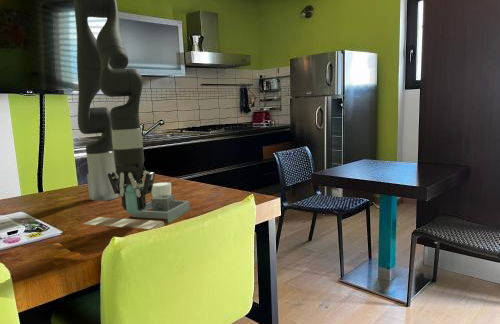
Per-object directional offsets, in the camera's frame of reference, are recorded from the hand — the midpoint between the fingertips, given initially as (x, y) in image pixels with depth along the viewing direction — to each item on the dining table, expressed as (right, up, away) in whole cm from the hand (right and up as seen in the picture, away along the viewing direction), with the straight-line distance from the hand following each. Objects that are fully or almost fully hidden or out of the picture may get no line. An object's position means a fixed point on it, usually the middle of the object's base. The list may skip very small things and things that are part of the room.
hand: (134, 209), depth 101 cm
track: (-4, -5, +2) cm, 7 cm away
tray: (+5, -3, +11) cm, 13 cm away
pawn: (0, -1, 0) cm, 1 cm away
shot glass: (+2, -2, +24) cm, 25 cm away
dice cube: (+5, -3, +12) cm, 13 cm away
